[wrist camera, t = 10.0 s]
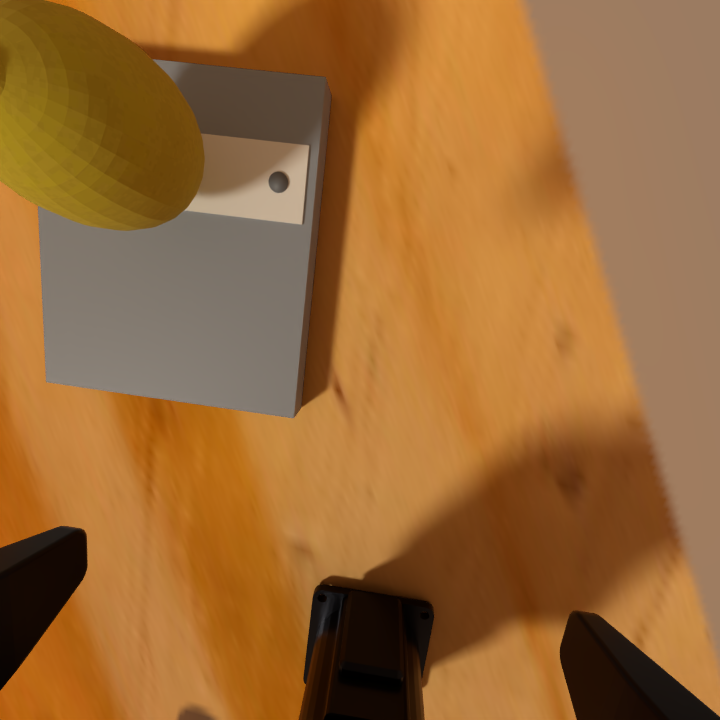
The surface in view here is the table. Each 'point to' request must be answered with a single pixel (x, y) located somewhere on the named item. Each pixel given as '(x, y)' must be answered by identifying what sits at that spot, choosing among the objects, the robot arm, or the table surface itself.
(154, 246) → the grey flat block
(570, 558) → the table surface
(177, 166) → the lemon
